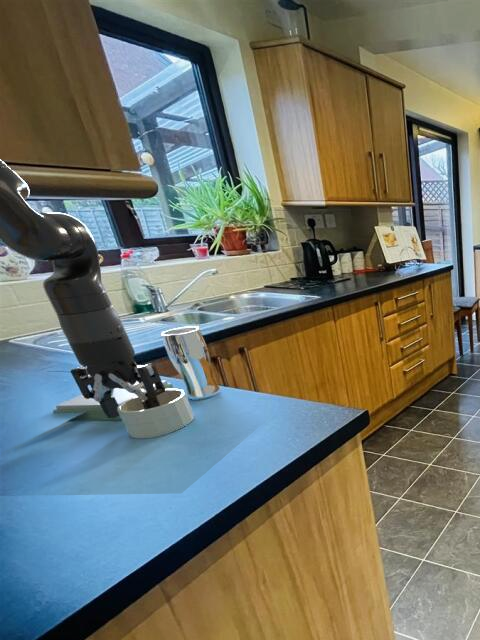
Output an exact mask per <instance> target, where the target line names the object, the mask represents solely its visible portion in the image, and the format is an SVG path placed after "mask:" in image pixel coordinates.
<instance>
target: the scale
mask: <svg viewBox="0 0 480 640" xmlns="http://www.w3.org/2000/svg"><path fill="white" fill-rule="evenodd" d="M161 381H162V383H163V385H164V388H165V389H175V388H174V385H173V383H172V382H168V381H167V380H161ZM137 384H139V382H138V381H136V383H135V384H134V385H137ZM153 386H154V389H156V387H155V384H153ZM141 390H142V391H143V392H144V393H147V392H146V391H145V390H144V389H141ZM136 396H137V395H136V394H134V393H130V392H128V391H127V390H126V389H120V388H114V391H113V395H112V396H111V397H115V399H116V401H117V403H118V405H120V404H121V403H123V402H125V401H127V400H129V399H131V398H133V397H136ZM52 412H53V413H56V414H59V413H81V414H79V415H76V416H74V417H72V418H70V419H68V420H67V421H68V422H70V421H72V422H73V421H112V420H113V421H115V420H116V421H122V419H121V417H120V415H119V416H117V417H116V418H108V417H107V415H106V414H105V413H104V411H103V409H102V407H101V405H100V403H99V402H97V401H95V400H94V399H92V398H90V399H86V398H84V397H83V395H82V394H79V395H77V396H75V397H73V398H70V399H68V400H66V401H63V402H61V403H59V404H57V405H55V409H53V410H52Z"/></svg>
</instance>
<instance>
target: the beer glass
mask: <svg viewBox="0 0 480 640" xmlns="http://www.w3.org/2000/svg"><path fill="white" fill-rule="evenodd" d="M160 335H161V338H162V342H163V345H164V348H165V351H166V354H167V356H168V359H169V360H170V362H171V363H172V365H173V367H174V369H175V370H176V372H177V373H178V374H179V376H180V378H181V380H182V381H183V383H184V384H185V389H186V396H187V398H188V400H190V399H192V400H191V401H199V399H200V400H205V399H209V398H212V397H214V396H216V395H218V394H219V393H220V392H221V389H220V386H219V385H218V384H217V382H216V380H215V378H214V375H213V370H212V361H211V356H210V352H209V349H208V345H207V342H206V340H205V338H204V336H203V334H202V331H201V329H200V327H199V326H183V327H177V328H172V329H168V330H165V331H162V332H161V333H160Z"/></svg>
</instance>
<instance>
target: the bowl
mask: <svg viewBox="0 0 480 640" xmlns="http://www.w3.org/2000/svg"><path fill="white" fill-rule="evenodd" d="M157 399H158V402H159V405H160V406H158V407H154V408H150V409H146V410H145V408H144V406H143V404H142V402H141V401H143V400H142V399H140V398H139V397H138V396H136V397H133V398H131V399H129V400H127V401H125V402H123V403H121V404H120V405H119V406H118V407H117V411H118V413H119V415H120V417H121V419H122V420H121V421H122V423H123V425H124V427H125V429H126V431H127V434H128V435H129V436H130V437H131V438H134V439H150V438H151V439H152V438H156V437H160V436H164V435H168V434H171V433H174V432H176V431H178V429H179V430H181V429H183V428H185V427H186V426H188V425H189V423H190V422H191V421H192V420H193V419H194V420H195V413H194V411H193V409H192V406H191V403H190V401H189V398H188V396H187V393H186V392H185V390H184V389H180V388H174V389H165V392H163V393H161V394H159V395H157ZM194 420H193V421H194ZM193 421H192V422H193ZM192 422H191V423H192ZM191 423H190V424H191ZM187 424H188V425H187ZM184 426H185V427H184ZM182 427H183V428H182ZM180 428H181V429H180ZM175 430H176V431H175ZM173 431H174V432H173Z"/></svg>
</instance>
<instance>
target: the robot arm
mask: <svg viewBox="0 0 480 640" xmlns="http://www.w3.org/2000/svg"><path fill="white" fill-rule="evenodd" d="M29 196H30V188H29V186H28V184H27V183H26V182H25V180H23V178H21V177H20V175H19V174H17V173H16V172H15V171H14V170H13V169H12V168H10V167H9V166H8V165H7V164H6V163H5V162H4V161H2V159H0V241H1V243H3V244H4V245H5V246H6V247H7V248H8V249H11V250H12V251H13V252H15V253H17V254H19V255H20V256H22V257H24V258H26V259H29V260H32V261H37V262H52V267H53V273H52V274H51V275H50V276H48V277H47V278H45V279H44V280H43V282H42V286H43V287H42V288H43V290H44V292H45V295H46V296H47V299H48V301H49V303H50V305H51V307H52V308H53V311H54V312H55V314H56V317H57V319H58V324H59V326H60V329H61V331H62V333H63V334H64V337H65V338H66V340H67V343H68V344H69V346H70V348H71V350H72V352H73V354H74V356H75V358H76V360H77V362H78V364H79V365H81V366H78V367H75V368H73V369H71V370H70V373H71V376H72V378H73V379H74V381H75V383H76V385H77V386H78V389H79V391H80V393H81V395H83V397H84V398H86V399H90V398H92V399H94V400H95V401H97V402H99V403H100V405H101V407H102V409H103V411H104V413H105V414H106V415H107V417H108V418H116V417H117V416H119V413H118V411H117V407H118V406H119V405H118V403H117V401H116V399H115V397H111V396H112V395H113V391H114V388H120V389H126V390H127V391H128V392H130V393H134V394H136V395H137V396H138V397H139V398H140V399H142V400H143V401H141V402H142V404H143V406H144V408H145V410H146V409H150V408H154V407H158V406H160V405H159V402H158V399H157V395H159V394H161V393H163V392H165V388H164V385H163V383H162V381H163V380H162V379H161V376H160V374H159V371H158V369H157V367H156V365H155V364H154V363H152V362H150V363H147V364H145V365H141V364H140V365H139V364H138V363H136V361H135V359H134V356H135V353H136V351H135V349H134V346H133V344H132V343H131V340H130V338H129V336H128V333H127V331H126V329H125V326H124V324H123V322H122V320H121V318H120V316H119V314H118V313H117V311H116V310H115V308H114V306H113V304H112V301H111V300H110V297H109V295H108V293H107V290H106V288H105V286H104V284H103V282H102V270H101V264H100V257H99V251H98V246H97V243H96V240H95V237H94V236H93V234H92V233H91V231H90V230H89V228H88V227H87V226H86V225H85V224H84V223H83V222H82V221H80V219H78V218H76V217H74V216H72V215H70V214H67V213H62V212H37V211H36V210H35V209H33V208H32V207H31V206H30V204H28V203H27V202H26V200H27V198H29ZM136 381H138V382H139V384H137V385H134V384H135V383H136ZM153 384H155V387H156V389H154V386H153ZM89 386H90V388H91V389H90V388H89ZM141 389H144V390H145V391H146V392H147V393H144V392H143V391H142V390H141Z"/></svg>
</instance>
